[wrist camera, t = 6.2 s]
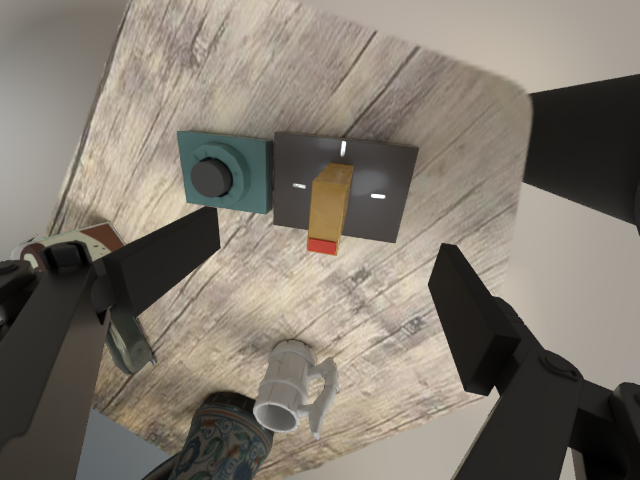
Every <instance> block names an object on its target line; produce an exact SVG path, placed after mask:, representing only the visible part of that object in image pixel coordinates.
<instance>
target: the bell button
mask: <svg viewBox="0 0 640 480" xmlns="http://www.w3.org/2000/svg"><path fill="white" fill-rule="evenodd" d="M191 182H192V184H193V186H194V188H195V189H196V190H197V191H198V192H199V193H200V194H201V195H203V196H205V197H209V198H214V197H217V196H219V195H221V194H223V193H225V192H227V191H228V190H229V188H230V187H231V183H232V177H231V174H230V171H229V169H228V168H227V167H226V166H225V165H224V164H223V163H222V162H220V161H217V160H207V161H203V162H199V163H197V164H195V165H194V167H193V168H192V170H191Z"/></svg>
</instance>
